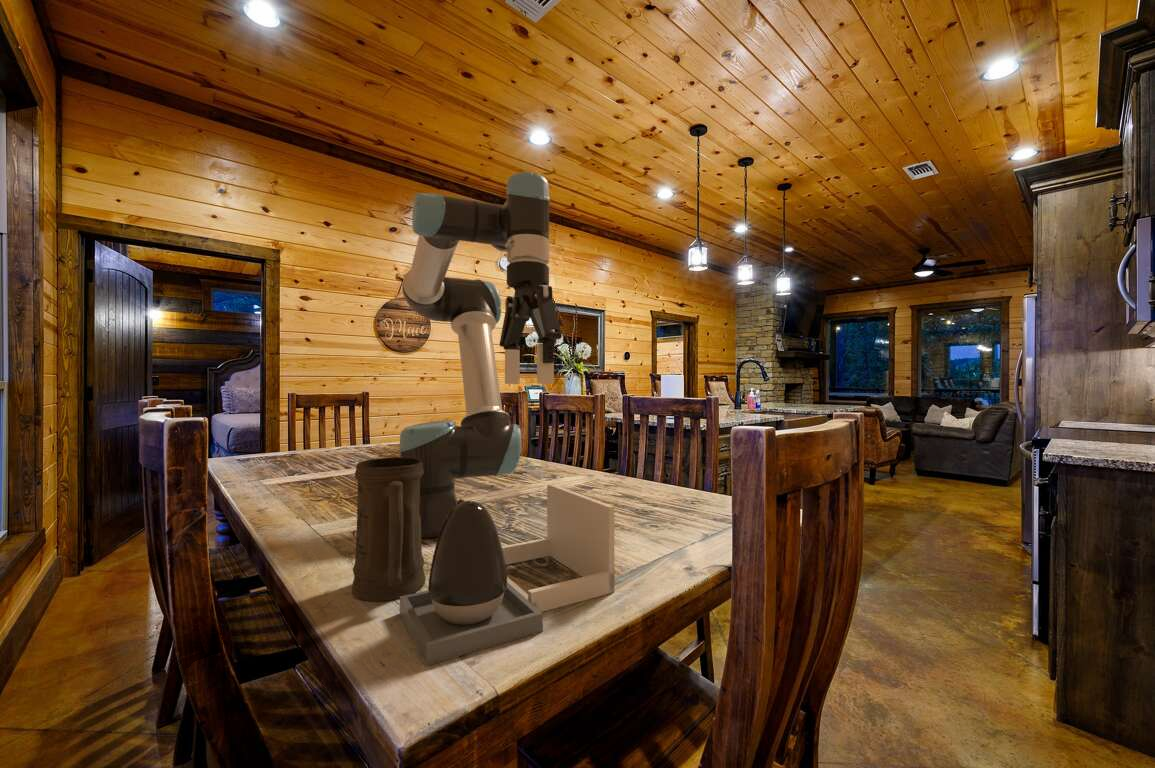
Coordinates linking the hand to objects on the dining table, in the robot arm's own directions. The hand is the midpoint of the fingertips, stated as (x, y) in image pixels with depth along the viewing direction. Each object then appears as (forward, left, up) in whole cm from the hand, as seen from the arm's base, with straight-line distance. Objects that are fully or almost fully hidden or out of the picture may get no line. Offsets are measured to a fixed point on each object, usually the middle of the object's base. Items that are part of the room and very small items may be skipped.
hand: (527, 384), depth 86 cm
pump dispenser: (+15, -16, -31) cm, 38 cm away
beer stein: (0, -23, -32) cm, 39 cm away
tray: (+16, -16, -32) cm, 39 cm away
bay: (+8, -1, -32) cm, 33 cm away
